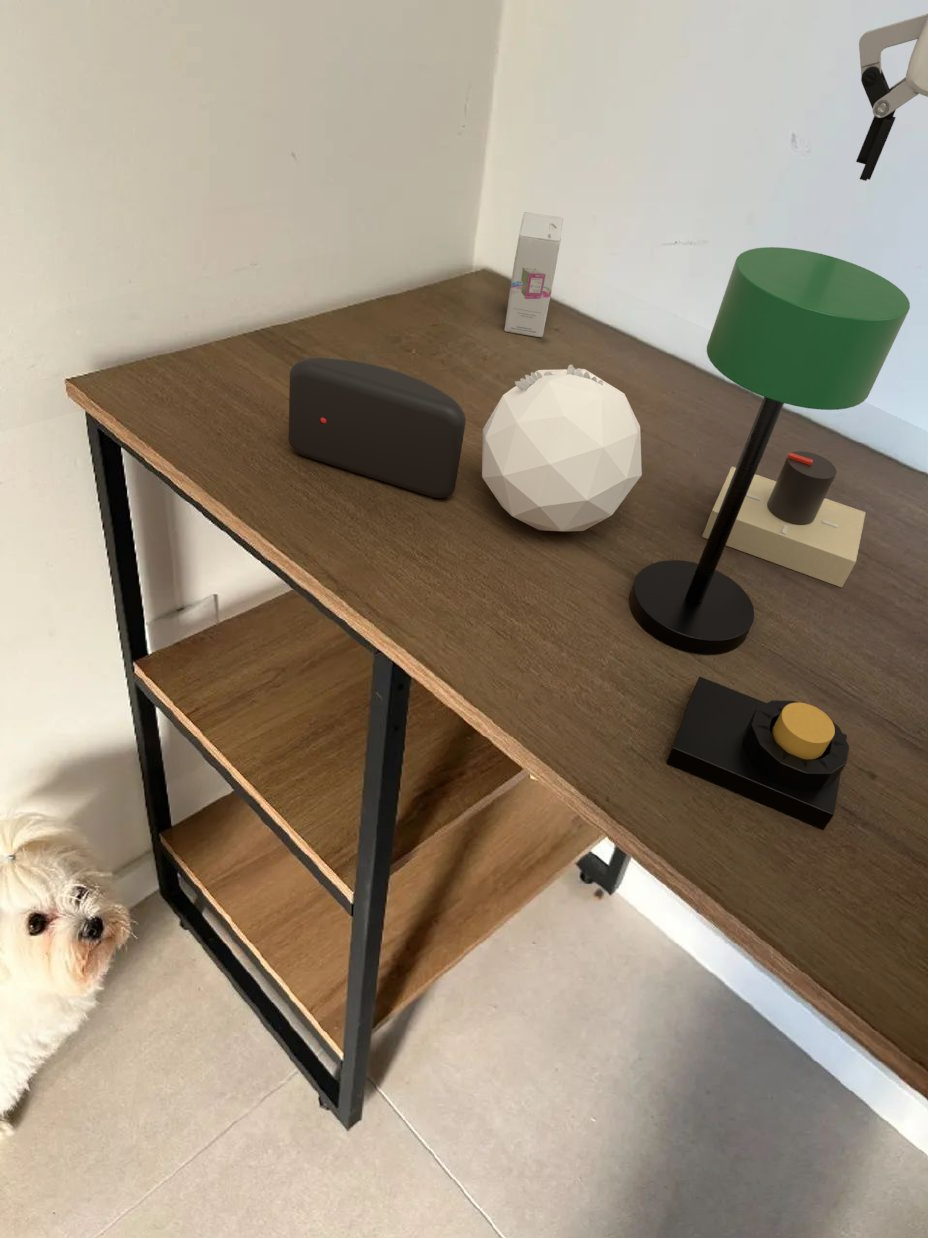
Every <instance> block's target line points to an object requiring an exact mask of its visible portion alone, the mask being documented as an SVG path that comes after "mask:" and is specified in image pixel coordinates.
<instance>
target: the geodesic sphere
mask: <svg viewBox="0 0 928 1238" xmlns="http://www.w3.org/2000/svg"><path fill="white" fill-rule="evenodd" d="M524 377H525V378H524ZM524 377H522V378H519V380H514V384H515V386H514V387H512V388H510V389H509V390H508V391H506V392H505V393H504V394H503V395H502V396H501V398H500V399H499V401H498V402H497V404H496V405H495V408H494V410H493V411H492V413H491V415H490V416H489V418H488V420H487V421H486V423H485V425H484V426H483V428H482V433H481V434H482V435H481V436H482V437H481V438H482V439H481V440H482V443H481V444H482V445H481V447H482V450H481V451H482V452H481V460H482V461H481V464H482V465H481V478H482V479H483V481H484V483H485V484H486V486H487V487H488V488H489V490H490V492H491V493H492V495H494V497H495V498H496V500H497V502H498V503H499V505H500V506H501V508H503V509H504V510H505V511H506V512H507V513H508V514H509V515H510V516H511V517H512V518H514V519H516V520H519V521H521V522H522V523H525V524H526V525H528V526H530V527H532V528H534V529H535V530H538V531H548V532H549V531H550V532H584V531H586V530H587V529H590V528H592V527H593V526H596V525H597V524H599V523H601V522H603V521H604V520H606V519H608V518H610V517H612V516H613V515H614V513H615V512H616V511H617V509H618V508H619V506H620V505H621V504H622V503H623V501H624V500H625V499H626V498H627V496H628V494H629V493H630V492H631V490H632V489H633V488H634V487H635V485H636V484H637V482H638V481H639V480H640V478H641V477H642V476H643V473H642V472H643V468H642V441H641V440H642V439H641V426H640V423H639V421H638V419H637V417H636V415H635V413H634V411H633V408H632V406H631V404H630V402H629V400H628V398H627V396H626V394H625V393H624V391H623V392H622V391H621V390H619V389H618V388H616V387H614V385H611V384H610V383H608V382H606V381H604V380H603V379H602V378H600V377H598V376H597V375H595V374H594V373H592V372H590V371H589V370H587V369H586V368H580V367H577V368H575V366H574V365H573V364H569V365H568V366H567V369H565V368H564V369H563V368H562V369H538V370H536V371H534V372H533V371H531V372H530V375H529V374H524Z"/></svg>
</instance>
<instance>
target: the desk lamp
mask: <svg viewBox="0 0 928 1238" xmlns="http://www.w3.org/2000/svg"><path fill="white" fill-rule="evenodd" d="M910 308H911V303H910V300H909V298H908V297H907V295H906V293H904V291H902V289H900V288H899V287H898V286H897V285H896V284H894V283H893V282H891V281H890V280H888V279H887V278H885V277H883V276H881V275H879V274H878V273H876V272H875V271H872V270H870V269H867V268H866V267H862V266H861V265H858V264H856V263H853V262H850V261H847V260H844V259H841V258H837V257H834V256H832V255H827V254H823V253H819V252H815V251H811V250H805V249H798V248H792V247H791V248H790V247H779V246H777V247H776V246H775V247H774V246H769V247H767V246H765V247H755V248H751V249H748V250H745V251H743V252H742V253H740V254H739V255H738V256H736V259H735V261H734V265H733V267H732V270H731V274H730V276H729V279H728V282H727V285H726V288H725V291H724V294H723V297H722V300H721V303H720V306H719V308H718V312H717V314H716V317H715V320H714V323H713V327H712V329H711V332H710V335H709V338H708V342H707V345H706V354H707V358H708V359H709V361H710V363H711V364H712V365H713V367H714V368H715V369H716V370H717V371H718V372H719V373H720V374H721V375H723V376H724V377H725V378H726V379H729V380H730V381H731V382H733V383H734V384H736V385H738V386H740V387H742V388H744V389H746V390H747V391H749V392H751V393H754V394H756V395H759V396H761V397H763V399H762V402H761V404H760V407H759V409H758V411H757V414H756V417H755V419H754V422H753V424H752V427H751V429H750V431H749V434H748V437H747V439H746V442H745V444H744V447H743V448H742V449H743V450H742V452H741V454H740V457H739V459H738V462H737V464H736V466H735V468H736V470H735V472H734V475H733V477H732V480H731V482H730V485H729V487H728V490H727V492H726V495H725V497H724V500H723V503H722V505H721V508H720V510H719V513H718V515H717V518H716V520H715V523H714V525H713V528H712V530H711V533H710V535H709V538H708V539H707V541H706V543H705V546H704V548H703V551H702V554H701V556H700V558H699V561H698V563H697V562H694V561H688V560H681V559H667V560H660V561H656V562H653V563H650V564H648V565H646V566H645V567H643V568H642V569H641V570H639V572H638V573H637V575H636V576H635V579H634V581H633V584H632V586H631V590H630V592H629V598H628V604H629V608H630V612H631V614H632V616H633V618H634V619H635V620H636V622H637V623H638V625H639V626H640V627H641V628H642V629H643V630H644V631H645V632H647V633H648V634H649V636H652V637H653V638H654V639H656V640H658V641H659V642H660V643H663V644H665V645H667V646H669V647H670V648H673V649H676V650H679V651H682V652H686V653H689V654H695V655H706V656H707V655H709V656H710V655H711V656H712V655H713V656H714V655H721V654H724V653H729V652H731V651H734V650H735V649H737V648H738V647H740V646H741V645H742V644H743V643H744V642H745V641H746V639H747V637H748V634H749V632H750V630H751V628H752V626H753V624H754V621H755V607H754V605H753V602H752V600H751V598H750V596H749V595H748V593H746V591H745V589H743V588H742V587H741V586H740V584H738V583H737V582H736V581H734V579H732V578H730V577H729V576H728V575H726V574H724V573H722V572H721V571H719V570H716V569H717V567H718V564H719V562H720V560H721V557H722V555H723V553H724V551H725V547H726V543H727V541H728V538H729V536H730V533H731V531H732V528H733V526H734V524H735V521H736V519H737V516H738V514H739V511H740V509H741V507H742V504H743V502H744V499H745V497H746V494H747V492H748V490H749V487H750V485H751V482H752V480H753V477H754V475H755V474H756V472H757V471H758V468H759V465H760V463H761V460H762V458H763V456H764V454H765V450H766V448H767V446H768V443H769V441H770V438H771V436H772V434H773V431H774V429H775V427H776V424H777V421H778V419H779V417H780V415H781V412H782V409H783V407H784V404H785V405H790V406H793V407H799V408H803V409H804V408H805V409H812V410H821V411H823V410H824V411H838V410H845V409H846V410H847V409H850V408H855V407H856V406H858V405H860V404H862V403H864V402H865V401H866V399H867V398H868V397H869V395H870V393H871V391H872V389H873V387H874V385H875V382H876V381H877V378H878V377H879V375H880V372H881V370H882V368H883V366H884V363H885V362H886V359H887V357H888V355H889V353H890V351H891V349H892V347H893V345H894V343H895V341H896V338H897V336H898V334H899V332H900V330H901V328H902V326H903V323H904V322H905V320H906V318H907V316H908V314H909V311H910Z"/></svg>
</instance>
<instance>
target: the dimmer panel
mask: <svg viewBox="0 0 928 1238" xmlns="http://www.w3.org/2000/svg"><path fill="white" fill-rule="evenodd" d="M735 470H736V466H730V469H729V472H728V474H727V475H726V478H725V481H724V482H723V485H722V487H721V489H720V492H719V494H718V497H717V498H716V500H715V503H714V504H713V507H712V510H711V512H710V515H709V518H708V520H707V522H706V525H705V527H704V530H703V533H702V535H701V537H702V538H705V539H706V540H708V538H709V535H710V533H711V530H712V528H713V525H714V523H715V520H716V518H717V515H718V513H719V510H720V508H721V505H722V503H723V500H724V497H725V495H726V492H727V490H728V487H729V485H730V482H731V480H732V477H733V475H734V472H735ZM776 482H777V480H773V479H770V478H767V477H764V476H762V475H759V474H756V473H755V475H754V477H753V480H752V482H751V485H750V487H749V490H748V492H747V494H746V497H745V499H744V502H743V504H742V507H741V509H740V511H739V514H738V516H737V519H736V521H735V524H734V526H733V528H732V531H731V533H730V536H729V538H728V541H727V543H726V545H725V547H726V546H727V547H729V548H732V549H734V550H737V551H740V552H742V553H746V554H748V555H751V556H753V557H756V558H758V559H759V558H760V559H762V560H764V561H768V562H770V563H773V564H775V565H778V566H781V567H783V568H787V569H789V570H792V571H795V572H797V573H800V574H803V575H806V576H808V577H811V578H814V579H817V580H819V581H822V582H825V583H828V584H830V585H833V586H836V587H839V588H843V587H844V585H845V583H846V582H847V580H848V577H849V576H850V575H851V572H852V571H853V569H854V566H855V565H856V564H857V558H858V555H859V554H858V553H859V550H860V549H859V548H860V544H861V538H862V534H863V528H864V524H865V519H866V511H864V510H861V509H857V508H854V507H851V506H849V505H846V504H843V503H840V502H837V501H834V500H831V499H828V498H826V497H825V498H824V501H823V503H822V505H821V507H820V509H819V511H818V513H817V515H816V517H815V519H814V521H813V522H812V523H810V524H806V525H796V524H792V523H788V522H785V521H783V520H781V519H779V518H777V517H776V516H775V515H773V514H772V513H771V512H770V510H769V509H768V506H767V503H768V500H769V498H770V496H771V493H772V491H773V489H774V486H775V484H776Z"/></svg>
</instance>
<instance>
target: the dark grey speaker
mask: <svg viewBox="0 0 928 1238" xmlns="http://www.w3.org/2000/svg"><path fill="white" fill-rule="evenodd" d="M288 391H289V393H288V395H289V397H288V438H287V439H288V442H289V446H290V447H291V448H292V449H293V451H295V452H296V453H297V454H299V455H300V456H303V457H305V458H308V459H312V460H315V461H318V462H320V463H323V464H327V465H330V466H334V467H337V468H339V469H343V470H346V471H349V472H352V473H355V474H358V475H361V476H365V477H368V478H370V479H374V480H377V481H380V482H384V483H387V484H390V485H394V486H396V487H399V488H402V489H406V490H407V491H412V492H415V493H418V494H421V495H423V496H427V497H431V498H435V499H446V498H448V497H450V496H452V495H453V493H454V492H455V490H456V484H457V478H458V473H459V466H460V460H461V453H462V448H463V441H464V436H465V429H466V423H467V420H466V415H465V413H464V411H463V408H462V406H461V405H460V404H459V403H458V402H457V400H455V399H454V398H453V397H451V396H450V395H449V394H447V393H446V392H444V391H442V390H441V389H439V388H438V387H436V386H434V385H432V384H430V383H428V382H426V381H424V380H421V379H419V378H417V377H415V376H412V375H409V374H407V373H405V372H401V371H399V370H395V369H391V368H388V367H384V366H381V365H376V364H374V363H373V364H372V363H367V362H364V361H363V362H362V361H357V360H350V359H344V358H333V357H308V358H304V359H300V360H299V361H297V362H295V363H294V364H293V365H292V366H291V368H290V371H289V390H288Z"/></svg>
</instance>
